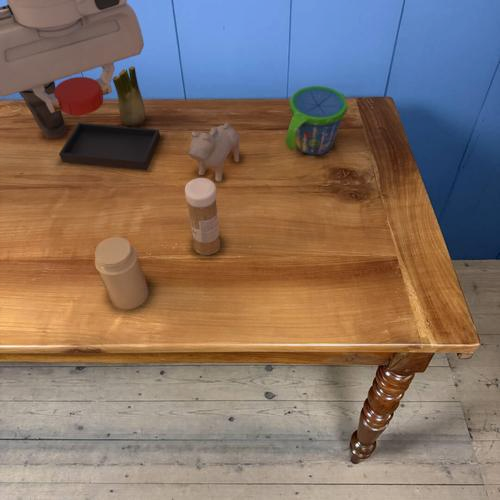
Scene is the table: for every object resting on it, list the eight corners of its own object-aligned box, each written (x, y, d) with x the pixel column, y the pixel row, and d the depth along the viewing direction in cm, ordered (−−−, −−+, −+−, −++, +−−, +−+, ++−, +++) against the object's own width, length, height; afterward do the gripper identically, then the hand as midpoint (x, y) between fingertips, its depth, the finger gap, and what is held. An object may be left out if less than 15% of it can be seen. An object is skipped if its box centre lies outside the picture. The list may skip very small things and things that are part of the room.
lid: (100, 114, 62) (96, 101, 61) (54, 115, 62) (50, 102, 60) (105, 89, 66) (102, 76, 65) (63, 90, 66) (58, 77, 64)
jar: (105, 307, 69) (84, 264, 61) (117, 276, 73) (99, 231, 64) (142, 312, 69) (126, 269, 60) (152, 280, 72) (139, 236, 64)
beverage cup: (37, 124, 98) (-4, 31, 82) (72, 118, 99) (38, 25, 84) (37, 145, 94) (-7, 51, 78) (73, 139, 95) (38, 44, 79)
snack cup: (303, 175, 87) (308, 131, 80) (267, 148, 93) (268, 104, 85) (358, 141, 94) (368, 97, 86) (321, 118, 99) (327, 74, 91)
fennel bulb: (144, 113, 100) (132, 61, 91) (152, 125, 98) (142, 73, 88) (118, 122, 98) (104, 69, 89) (126, 134, 96) (113, 81, 86)
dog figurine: (185, 186, 86) (177, 139, 78) (220, 147, 93) (217, 101, 85) (209, 195, 84) (204, 149, 76) (243, 155, 91) (242, 109, 83)
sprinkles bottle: (190, 239, 78) (180, 180, 67) (216, 232, 78) (210, 173, 68) (197, 259, 75) (188, 201, 64) (224, 252, 76) (219, 194, 65)
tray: (62, 162, 90) (58, 154, 89) (81, 130, 97) (78, 122, 95) (146, 170, 89) (144, 162, 87) (160, 137, 95) (159, 129, 93)
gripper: (-42, 31, 48) (12, 138, 59) (138, -15, 55) (156, 88, 66) (-54, 8, 51) (-2, 114, 62) (116, -33, 58) (137, 69, 69)
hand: (81, 100), depth 64 cm, fingers closed on lid, 6 cm apart
